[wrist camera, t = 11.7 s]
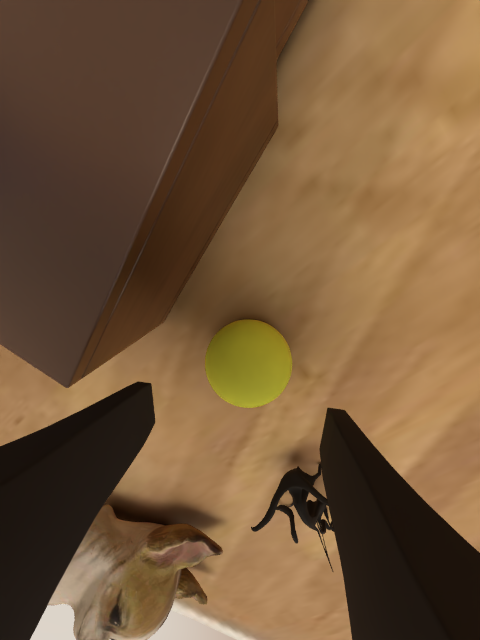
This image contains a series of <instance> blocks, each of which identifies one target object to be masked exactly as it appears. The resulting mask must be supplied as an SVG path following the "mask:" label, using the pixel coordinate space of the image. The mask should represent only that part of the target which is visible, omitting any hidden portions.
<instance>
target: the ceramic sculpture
mask: <svg viewBox="0 0 480 640" xmlns="http://www.w3.org/2000/svg"><path fill="white" fill-rule="evenodd" d="M222 552H223V550H222V548H221V547H220V546H219V545H218V544H217V543H215V542H214V541H213V540H211V539H210V538H209V537H208V536H206V535H205V534H204V533H203V532H201V531H200V530H198V529H196V528H194V527H193V526H191V525H188V524H173V525H167V526H164V525H161V524H156V523H149V522H131V521H124V520H120V519H117V518H116V516H115V514H114V510H113V508H112V507H111V506H110V505H104V506H102V508H101V510H100V511H99V513H98V514H97V516H96V518H95V519H94V521H93V523H92V525H91V526H90V528H89V530H88V532H87V533H86V535H85V537H84V539H83V540H82V542H81V544H80V546H79V547H78V549H77V551H76V553H75V555H74V556H73V558H72V560H71V562H70V564H69V566H68V568H67V569H66V571H65V573H64V575H63V577H62V579H61V580H60V582H59V584H58V586H57V588H56V590H55V592H54V594H53V595H52V597H51V599H50V601H49V603H48V605H58V604H68V605H70V606H71V607H72V608H73V610H74V614H75V621H74V629H73V630H74V636H75V638H76V640H109V639H111V640H147V639H148V638H150V637H151V636H152V635H153V634H155V633H156V631H157V630H158V629H159V628H160V627H161V626H162V625H163V623H164V622H165V620H166V618H167V617H168V614H169V612H170V610H171V608H172V605H173V601H174V598H178V599H182V598H191V597H193V598H194V599H195V600H196V601H198V602H199V603H200V604H207V596H206V595H205V593H204V591H203V590H202V588H201V586H200V585H199V583H198V581H197V580H196V579H195V577H194V576H193V574H192V573H191V572H190V571H189V570H188V569H187V568H186V567H193V566H196V565H198V564H199V563H200V562H201V561H202V560H204V559H205V558H206V557H208V556H212V555H220V554H222Z"/></svg>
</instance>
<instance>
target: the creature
mask: <svg viewBox="0 0 480 640" xmlns="http://www.w3.org/2000/svg"><path fill="white" fill-rule="evenodd" d="M321 468H322V467H321V463H320V464H319V466H318V473H317V474H316V475H314V476H311V475H308V474H307V473H305V472H303V471H302V470H301V469H300V468H299V467H297V468H295V469H293V470H290V471H289V472H287V473H286V474H285V475H284V476H283V478H282V479H281V482H280V484H279V487H278V489H277V491H276V493H275V494H274V496H273V499H272V501H271V504H270V507H269V509H268V511H267V513H266V515H265V517H264V518H263V519H262V521H261V522H260V523H259V524H258V525H257V526H255V527H253V528H252V527H251V529H252V530H253V531H254V532H255V531H258V530H260V529H261V528H262V527H264V526H265V525H266V524H267V523H268V522H269V521H270V520H271V518H272V517H273V515H274V513H275V510H280V511H282V512H284V513H285V514H287V515H288V516H289V518H290V525H291V535H292V538H293V540H294V541H295V543H298V538H297V534H296V531H295V523H294V515H293V512H292V510H291V509H290V508H288V507H291V506H293V505H294V506H295V508H296V510H297V512H298V514H299V516H300V518H301V519H302V521H303V522H304V523H305V524H306V525H307V526H309V527H310V528H312V529H313V530H316V531H317V532H318V534H319V537H320V539H321V536H320V533H321V534H322V536H323V534H325V533H326V528H327V529H328V530H332V531H333V532H334V528H333V527H332V526H333V523H332V522H331V524H330V522H329V517H328V513H327V507H326V505H327V506H329V505H328V500H327V499H326V498H325V497H324V496H322V495H321V494H320V493H319V492H318V491H317V490H316V489H315V488H314V487H313V485H314V482H315V480H316V479H317V478H318V477H319V476H320V475H321ZM287 490H289V493H290V494H291V496H292V497H293V503H292V505H291V506H288V507H287V506H285V505H279V506H278V507H277V505H278V502H279V500H280V498H281V497H282V495H283V494H284V493H285V492H286V491H287ZM309 492H310V493H311V494H312V495H313V496H315V497H316V498H317V501H315V502H312V501H311V500H308V501H307V502H306V500H307V497H308V494H309ZM323 512H324V514H325V516H326V518H327V520H328V523H329V525H330V527H329V525H328V523H327V522H326V520H324V519H322V520H321V516H322V514H323ZM317 521H318V522H317ZM316 523H317V525H318V523H319V526H320V528H319V526H318V528H319V530H320V533H319V530H318V529H317V528H316V527H315V524H316ZM321 528H322V529H321ZM323 540H324V538H323ZM321 542H322V540H321ZM322 545H323V543H322ZM324 545H325V542H324ZM323 548H324V546H323ZM325 549H326V546H325V548H324V550H325ZM325 553H326V556H327V558H328V561H329V557H328V554H327V550H326V551H325ZM329 563H330V561H329ZM330 566H331V564H330ZM331 569H332V567H331ZM332 571H333V570H332Z"/></svg>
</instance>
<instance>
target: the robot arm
mask: <svg viewBox="0 0 480 640" xmlns="http://www.w3.org/2000/svg"><path fill="white" fill-rule="evenodd" d="M154 424H155V414H154V405H153V395H152V386H151V383H144V382H136V383H134V384H132V385H130V386H128V387H126V388H124V389H122V390H120V391H118V392H116V393H114V394H112V395H110V396H108V397H106V398H104V399H102V400H101V401H99V402H97V403H95V404H93V405H91V406H89V407H87V408H85V409H83V410H81V411H79V412H77V413H75V414H73V415H71V416H69V417H67V418H65V419H62V420H60V421H58V422H56V423H54V424H52V425H50V426H48V427H46V428H43V429H41V430H39V431H36V432H34V433H32V434H29V435H27V436H25V437H22V438H20V439H17V440H15V441H13V442H10V443H8V444H5V445H2V446H0V640H30V638H31V636H32V634H33V632H34V631H35V629H36V627H37V625H38V623H39V621H40V619H41V617H42V615H43V613H44V611H45V609H46V607H47V605H48V603H49V601H50V599H51V597H52V595H53V594H54V592H55V590H56V588H57V586H58V584H59V582H60V580H61V579H62V577H63V575H64V573H65V571H66V569H67V568H68V566H69V564H70V562H71V560H72V558H73V556H74V555H75V553H76V551H77V549H78V547H79V546H80V544H81V542H82V540H83V539H84V537H85V535H86V533H87V532H88V530H89V528H90V526H91V525H92V523H93V521H94V519H95V518H96V516H97V514H98V513H99V511H100V510H101V508H102V506H103V505H104V503H105V502H106V500H107V499H108V497H109V496H110V494H111V493H112V491H113V490H114V489H115V487H116V486H117V484H118V483H119V481H120V480H121V478H122V477H123V475H124V474H125V472H126V471H127V469H128V468H129V466H130V465H131V463H132V462H133V460H134V459H135V457H136V456H137V454H138V453H139V451H140V450H141V448H142V447H143V445H144V443H145V442H146V440H147V438H148V436H149V434H150V432H151V430H152V428H153V426H154ZM320 458H321V467H322V476H323V482H324V486H325V491H326V496H327V500H328V505H329V510H330V514H331V519H332V523H333V528H334V532H335V537H336V541H337V546H338V551H339V555H340V560H341V566H342V571H343V577H344V583H345V590H346V597H347V604H348V611H349V618H350V625H351V633H352V640H480V553H479V552H478V551H477V550H476V549H475V548H474V547H473V546H471V545H470V544H469V543H468V542H467V541H466V540H465V539H464V538H463V537H462V536H460V535H459V534H458V533H457V532H456V531H455V530H454V529H453V528H452V527H451V526H450V525H449V524H448V523H447V522H446V521H445V520H444V519H443V518H442V517H441V516H440V515H438V514H437V513H436V512H435V511H434V510H433V509H432V508H431V507H430V506H429V505H428V504H427V503H426V502H425V501H424V500H423V499H422V498H421V497H420V496H419V495H418V494H417V493H416V492H415V491H414V489H413V488H412V487H411V486H410V485H409V484H408V483H407V482H406V481H405V480H404V479H403V478H402V477H401V476H400V475H399V474H398V473H397V471H396V470H395V469H394V468H393V467H392V466H391V465H390V464H389V463H388V461H387V460H386V459H385V458H384V457H383V456H382V455H381V453H380V452H379V451H378V450H377V449H376V448H375V446H374V445H373V444H372V443H371V442H370V440H369V439H368V438H367V437H366V436H365V434H364V433H363V432H362V431H361V430H360V428H359V427H358V426H357V425H356V423H355V422H354V421H353V420H352V418H351V417H350V416H349V415H348V414H347V412H346V411H345V410H341V409H333V408H327V413H326V419H325V424H324V429H323V434H322V439H321V444H320Z"/></svg>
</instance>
